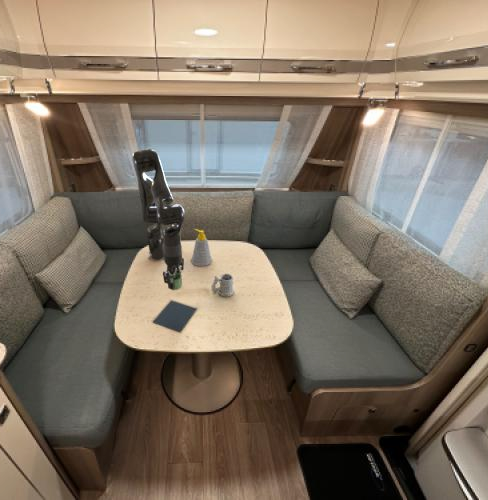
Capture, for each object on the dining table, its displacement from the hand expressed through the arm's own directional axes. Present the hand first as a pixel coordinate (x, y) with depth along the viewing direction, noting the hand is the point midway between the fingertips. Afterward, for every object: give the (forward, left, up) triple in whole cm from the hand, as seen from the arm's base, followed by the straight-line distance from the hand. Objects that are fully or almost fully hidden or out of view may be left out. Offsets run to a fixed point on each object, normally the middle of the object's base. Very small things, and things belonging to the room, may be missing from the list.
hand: (174, 284), depth 119 cm
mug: (-21, +15, -16) cm, 30 cm away
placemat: (+3, +1, -16) cm, 16 cm away
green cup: (0, 0, -1) cm, 1 cm away
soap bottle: (-45, -8, -16) cm, 48 cm away
